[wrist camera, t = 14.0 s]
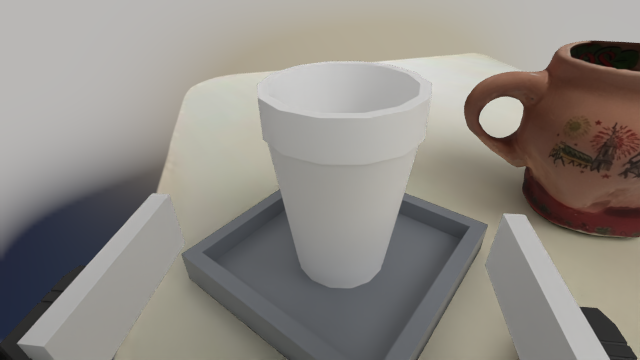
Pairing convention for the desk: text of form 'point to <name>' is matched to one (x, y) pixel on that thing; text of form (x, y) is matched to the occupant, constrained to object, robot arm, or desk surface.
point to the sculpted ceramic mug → (575, 135)
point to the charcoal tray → (338, 303)
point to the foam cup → (343, 159)
